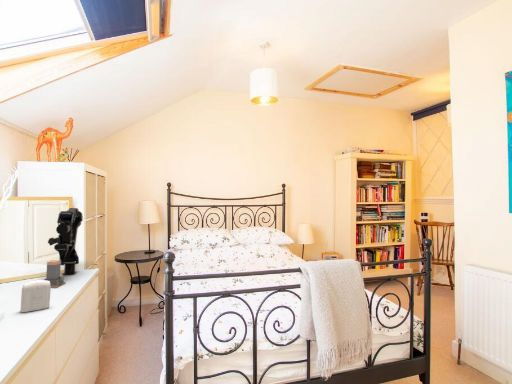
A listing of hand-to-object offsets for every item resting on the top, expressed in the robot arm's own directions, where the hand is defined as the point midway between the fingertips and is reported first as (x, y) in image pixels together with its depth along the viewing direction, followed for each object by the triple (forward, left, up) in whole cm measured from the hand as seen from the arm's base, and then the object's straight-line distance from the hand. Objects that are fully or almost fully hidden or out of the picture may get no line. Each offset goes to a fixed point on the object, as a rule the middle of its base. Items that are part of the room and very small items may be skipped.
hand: (64, 259), depth 179 cm
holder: (+12, -2, -12) cm, 17 cm away
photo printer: (+50, +3, -12) cm, 52 cm away
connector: (+12, -2, -11) cm, 17 cm away
